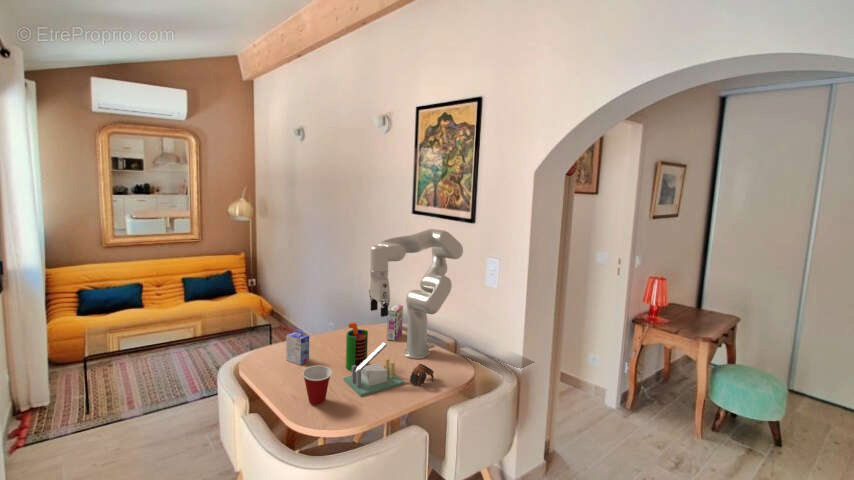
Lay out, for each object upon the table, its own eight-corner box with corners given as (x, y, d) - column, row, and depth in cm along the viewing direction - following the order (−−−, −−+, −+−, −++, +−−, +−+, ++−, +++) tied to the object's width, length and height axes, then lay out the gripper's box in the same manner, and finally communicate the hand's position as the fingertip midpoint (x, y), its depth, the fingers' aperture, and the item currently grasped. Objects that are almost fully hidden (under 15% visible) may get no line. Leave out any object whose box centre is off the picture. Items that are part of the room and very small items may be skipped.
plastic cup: (313, 412, 153) (313, 381, 151) (296, 401, 160) (296, 371, 158) (338, 401, 161) (338, 371, 159) (320, 391, 168) (320, 362, 166)
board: (385, 369, 189) (385, 352, 188) (404, 383, 176) (404, 365, 175) (343, 380, 178) (343, 361, 177) (360, 396, 165) (360, 377, 164)
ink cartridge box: (310, 361, 195) (310, 331, 193) (300, 365, 190) (300, 334, 188) (295, 356, 200) (294, 326, 198) (285, 360, 195) (285, 329, 193)
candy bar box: (395, 341, 221) (396, 311, 219) (386, 340, 223) (387, 310, 220) (402, 334, 232) (403, 305, 230) (394, 333, 233) (394, 304, 231)
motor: (361, 372, 185) (362, 328, 182) (342, 370, 187) (342, 326, 184) (369, 363, 195) (369, 321, 192) (350, 360, 197) (351, 319, 194)
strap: (384, 343, 179) (383, 341, 179) (387, 345, 177) (386, 343, 177) (354, 372, 173) (353, 370, 172) (357, 374, 171) (356, 372, 170)
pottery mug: (407, 378, 183) (416, 360, 184) (426, 388, 183) (435, 370, 184) (408, 384, 171) (418, 365, 172) (429, 395, 171) (439, 376, 172)
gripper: (397, 277, 177) (396, 317, 180) (377, 269, 191) (377, 306, 194) (381, 279, 173) (380, 320, 176) (362, 271, 187) (362, 309, 190)
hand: (379, 313), depth 185 cm, fingers open, 8 cm apart
